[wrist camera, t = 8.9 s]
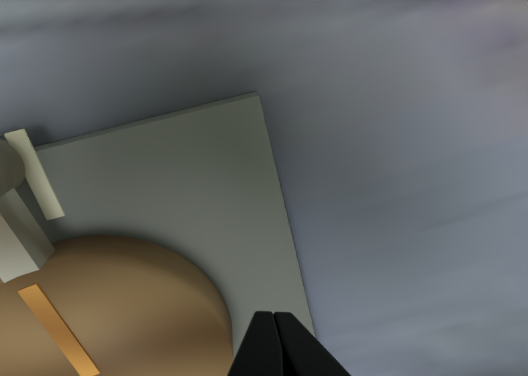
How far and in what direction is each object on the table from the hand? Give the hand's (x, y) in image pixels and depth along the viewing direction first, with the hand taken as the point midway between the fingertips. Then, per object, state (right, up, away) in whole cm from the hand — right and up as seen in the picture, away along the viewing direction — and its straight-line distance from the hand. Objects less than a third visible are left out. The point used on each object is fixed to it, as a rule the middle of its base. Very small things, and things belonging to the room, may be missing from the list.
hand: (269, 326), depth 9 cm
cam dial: (-9, -2, +10) cm, 13 cm away
